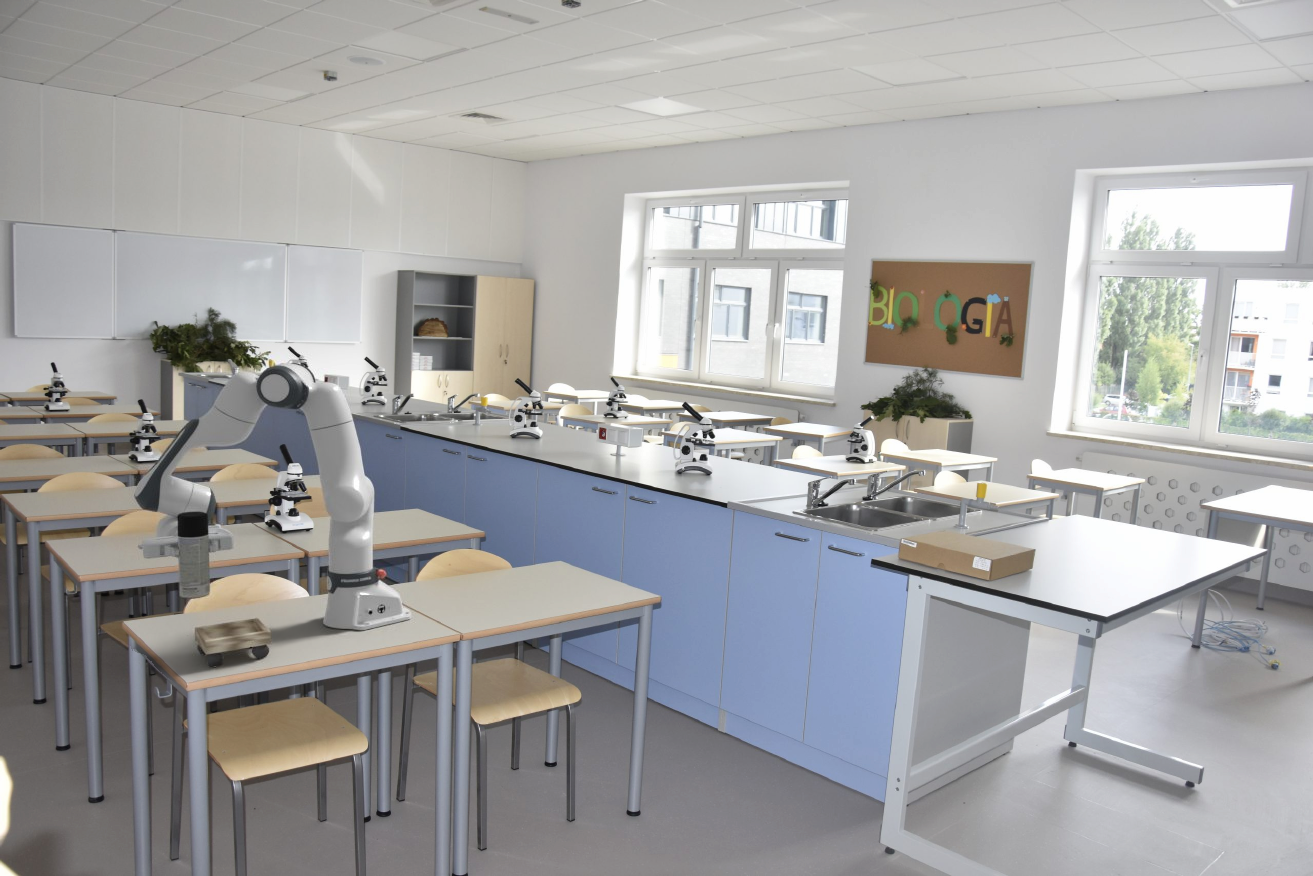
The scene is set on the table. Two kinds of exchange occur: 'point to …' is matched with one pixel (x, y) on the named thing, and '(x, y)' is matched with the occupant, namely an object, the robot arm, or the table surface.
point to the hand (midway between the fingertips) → (194, 551)
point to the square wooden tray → (232, 639)
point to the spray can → (193, 555)
